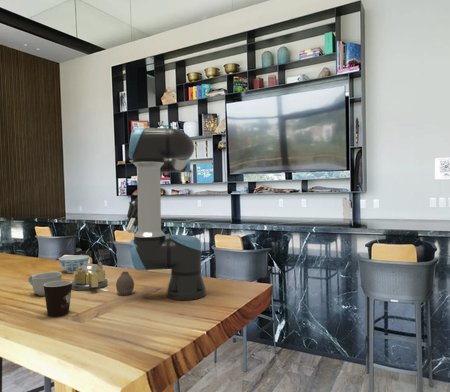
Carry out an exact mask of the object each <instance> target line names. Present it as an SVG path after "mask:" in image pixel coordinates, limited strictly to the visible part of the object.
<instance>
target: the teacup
mask: <svg viewBox="0 0 450 392" xmlns="http://www.w3.org/2000/svg"><path fill="white" fill-rule="evenodd" d="M62 275H63V273H62V272H60V271H46V272H40V273H36V274H30V275H29V276H28V283H29V284H30V285H31V286H32V290H33V292H34V293H35V294H36V295H38V296H40V297H45V292H44V284H46V283H49V282H54V281H63V278H62Z"/></svg>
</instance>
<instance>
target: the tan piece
mask: <svg viewBox="0 0 450 392" xmlns="http://www.w3.org/2000/svg"><path fill="white" fill-rule="evenodd" d="M105 279H106V270H105V269H104V268H103V269H100V266H97V272H95V271H88V273H87V274H86V273H85V271H83V270H82V268H76V271H75V272H74V273H73V282H75V283H76V284H89V285H90V286H91V287H98V282H101V281H103V280H105Z"/></svg>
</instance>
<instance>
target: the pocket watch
mask: <svg viewBox="0 0 450 392" xmlns="http://www.w3.org/2000/svg"><path fill="white" fill-rule="evenodd" d="M101 260H102V257H101V256H99V258H98V262H97V264H96V265H97V266H100V269H104V267H103V263H102V261H101Z"/></svg>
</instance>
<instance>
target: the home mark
mask: <svg viewBox="0 0 450 392" xmlns="http://www.w3.org/2000/svg"><path fill="white" fill-rule="evenodd" d="M98 290H99V291H102V292H110V290H109V289H106V288H101V289H98Z"/></svg>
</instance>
